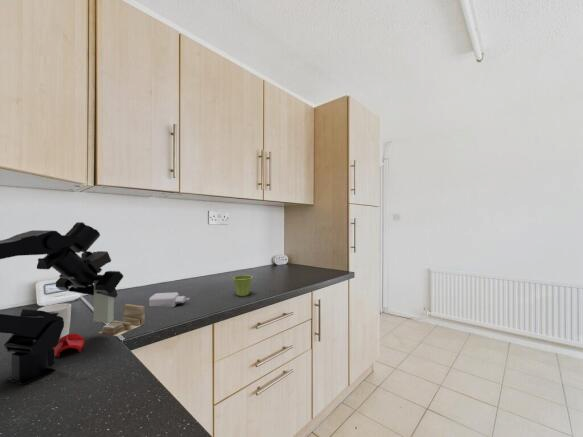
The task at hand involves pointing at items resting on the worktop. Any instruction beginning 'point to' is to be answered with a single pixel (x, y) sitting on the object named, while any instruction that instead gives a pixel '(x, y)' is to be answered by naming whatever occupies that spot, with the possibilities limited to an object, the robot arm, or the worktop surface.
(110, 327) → the offcut top
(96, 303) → the grey-green flat block
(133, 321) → the offcut rack
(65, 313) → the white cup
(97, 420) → the worktop surface
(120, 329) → the offcut bottom
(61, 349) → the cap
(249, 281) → the plant pot
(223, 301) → the worktop surface
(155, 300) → the white dispenser bottle
